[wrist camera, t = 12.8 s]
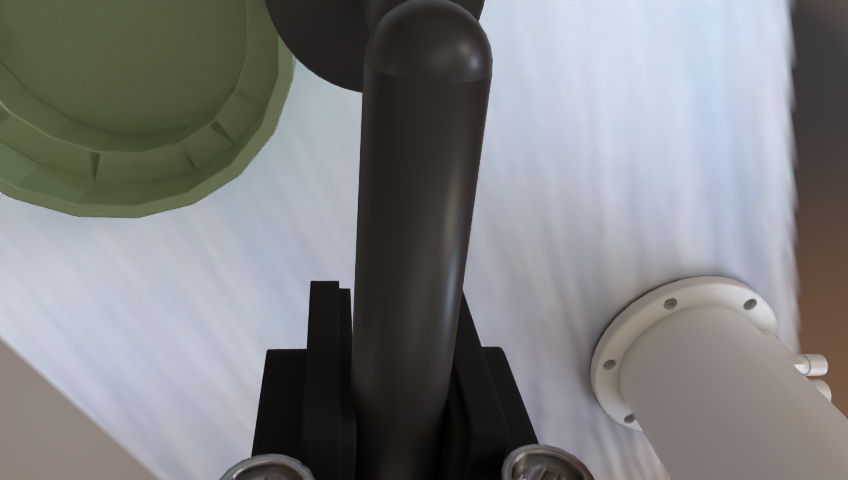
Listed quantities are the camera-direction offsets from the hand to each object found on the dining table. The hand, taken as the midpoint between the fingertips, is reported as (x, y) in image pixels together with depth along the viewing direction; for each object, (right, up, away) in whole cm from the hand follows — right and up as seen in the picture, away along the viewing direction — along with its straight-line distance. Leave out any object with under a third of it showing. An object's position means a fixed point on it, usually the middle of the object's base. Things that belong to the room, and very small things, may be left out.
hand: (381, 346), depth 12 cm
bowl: (-12, +12, +15) cm, 23 cm away
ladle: (-1, +4, +6) cm, 7 cm away
